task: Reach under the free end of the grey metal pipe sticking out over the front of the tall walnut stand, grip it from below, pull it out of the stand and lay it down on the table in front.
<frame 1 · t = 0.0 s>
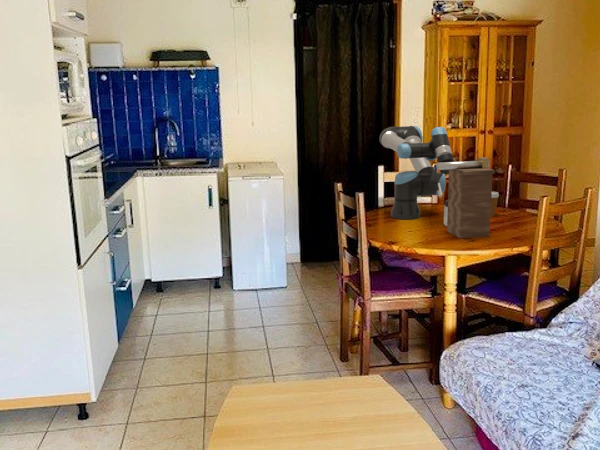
hand: (454, 195, 283), 15 cm above the table, tool tilted 35°, fingers open, 13 cm apart
disposable coffee cup: (488, 215, 310), on the table
pipe: (463, 168, 265), point 30 cm above the table, touching stand
stand: (467, 233, 272), on the table
jar: (452, 225, 290), on the table
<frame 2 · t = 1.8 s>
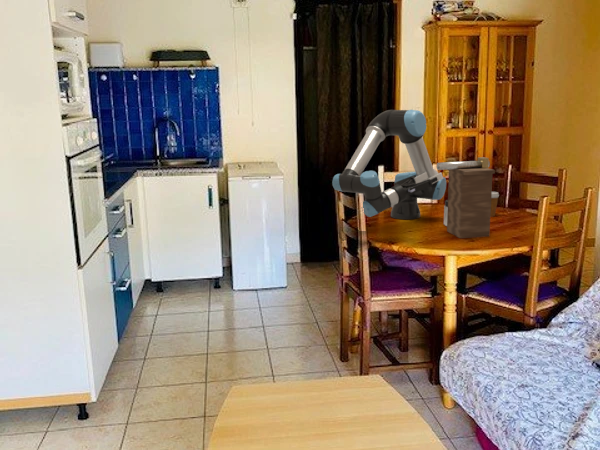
hand: (434, 175, 267), 27 cm above the table, tool pointing upward, fingers open, 12 cm apart
nothing on the table moved.
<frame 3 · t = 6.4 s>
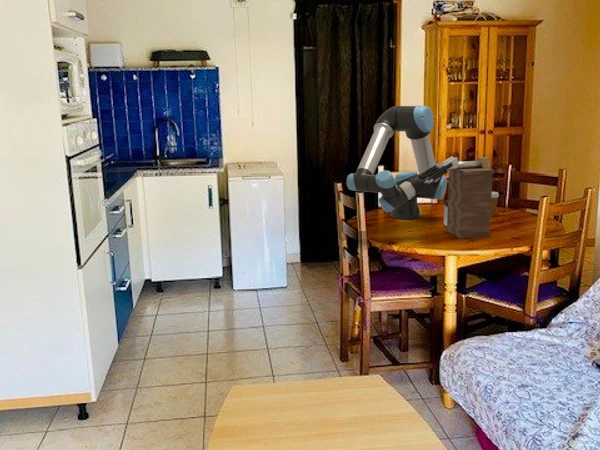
hand: (455, 159, 264), 34 cm above the table, tool pointing upward, fingers closed on pipe, 3 cm apart
pipe: (463, 168, 265), point 30 cm above the table, touching gripper, stand
everything else where it was.
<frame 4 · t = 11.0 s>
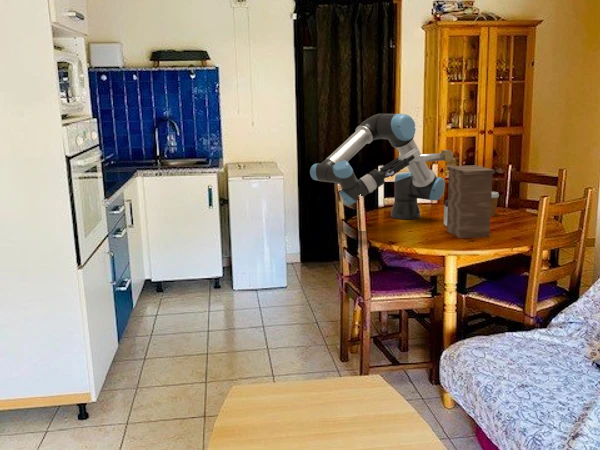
hand: (417, 151, 260), 38 cm above the table, tool pointing upward, fingers closed on pipe, 3 cm apart
pipe: (425, 161, 261), point 34 cm above the table, touching gripper
everything else where it was.
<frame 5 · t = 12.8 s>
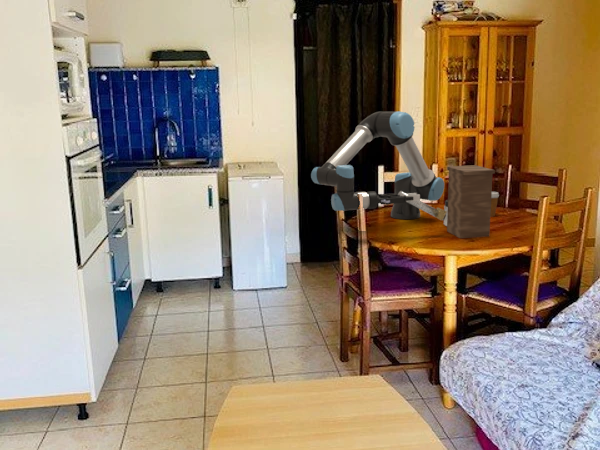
hand: (417, 196, 264), 18 cm above the table, tool horizontal, fingers closed on pipe, 3 cm apart
pipe: (420, 209, 266), point 13 cm above the table, tilted 29°, touching gripper
everything else where it was.
when the fingers open (7 cm above the table, at t = 15.9 s): pipe drops 3 cm, on the table.
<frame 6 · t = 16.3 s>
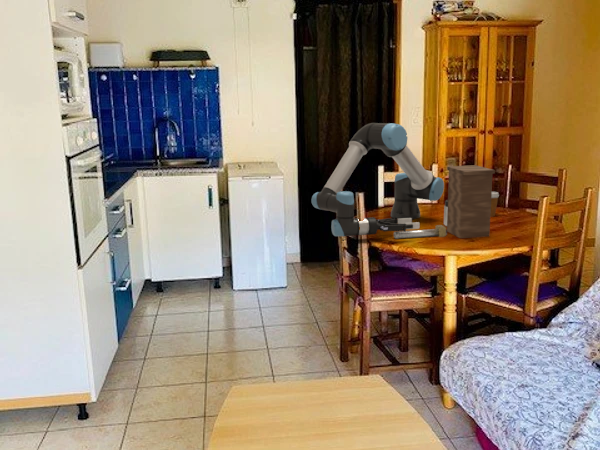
hand: (415, 223, 267), 6 cm above the table, tool horizontal, fingers open, 9 cm apart
pipe: (420, 237, 269), on the table
everything else where it was.
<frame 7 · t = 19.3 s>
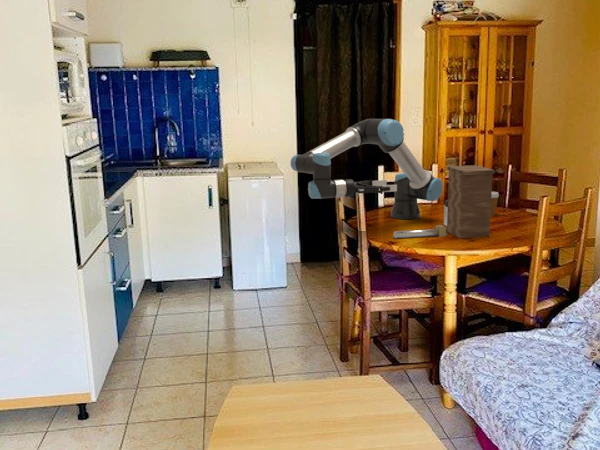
hand: (391, 185, 261), 24 cm above the table, tool horizontal, fingers open, 13 cm apart
nothing on the table moved.
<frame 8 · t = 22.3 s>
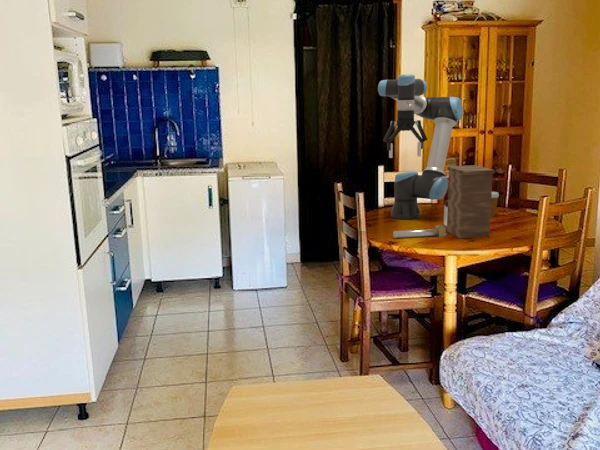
hand: (404, 157, 273), 35 cm above the table, tool pointing down, fingers open, 13 cm apart
nothing on the table moved.
at the end: pipe inside the target area (0.9 cm from its centre), on the table; the gripper is holding nothing; pipe tilted 0° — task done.
